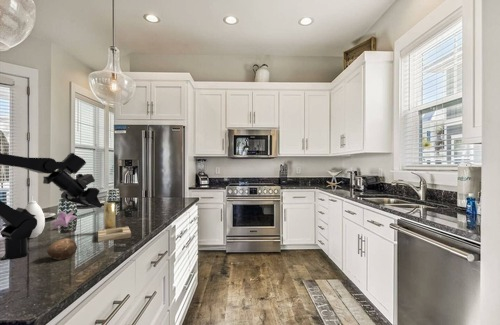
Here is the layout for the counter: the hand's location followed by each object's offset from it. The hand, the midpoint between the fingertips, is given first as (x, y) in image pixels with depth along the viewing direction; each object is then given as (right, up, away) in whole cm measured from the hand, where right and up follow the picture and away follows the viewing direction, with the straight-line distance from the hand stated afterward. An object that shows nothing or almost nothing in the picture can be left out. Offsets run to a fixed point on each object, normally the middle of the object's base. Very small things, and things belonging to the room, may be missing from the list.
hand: (94, 206), depth 112 cm
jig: (+9, -13, -1) cm, 16 cm away
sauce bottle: (-25, -13, -2) cm, 28 cm away
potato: (+4, -13, -25) cm, 29 cm away
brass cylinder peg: (+3, -13, +6) cm, 15 cm away
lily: (-21, -13, +12) cm, 28 cm away
